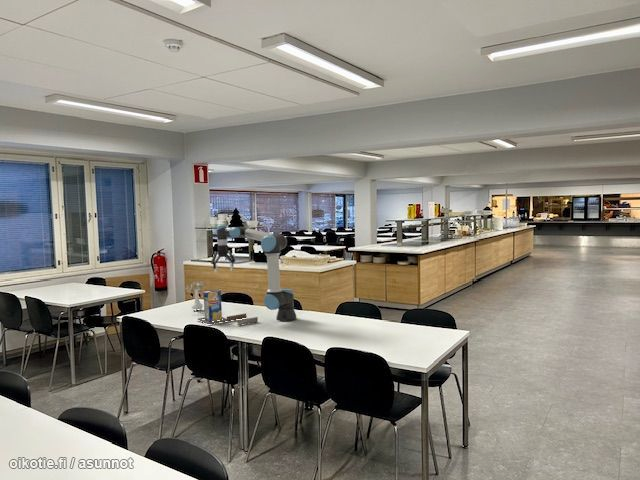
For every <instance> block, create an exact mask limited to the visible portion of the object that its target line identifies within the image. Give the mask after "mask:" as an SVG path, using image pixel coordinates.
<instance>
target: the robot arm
mask: <svg viewBox="0 0 640 480" xmlns="http://www.w3.org/2000/svg"><path fill="white" fill-rule="evenodd" d="M216 237H217V251H214V253H213V256H212V259H211V260H210V264H211V265H212V266H213V267H212V268H213V270H214V274H217V273H218V265H217V263H218V262H219V260H220V259H221V258H223V257H224V258H226V259H227V260H228V261H229V262H230V263H229V270H230V272H233V270H234V269H233V268H234V263H235V262H236V258H235V257H234V255H233V251H232V250H229V248H228V238H239V237H243V238H247V239H249V240H255V241H258V242H260V247H261V249H262V250H263V252H264V255H265V256H266V261H267V282H268V283H267V284H268V287H267V288H268V289H267V290H266V295H265V296H264V298H263V304H264V305H265V307H266V308H267V309H268V310H270V311H273V310H274V311H276V310H278V311H277V314H276V316H275V317H276V321H277V320H280V321H279V322H293V321H296V320H297V314H296V311H295V308H294V307H295V305H294V298H295V297H294V291H293V289H291V288H289V289H288V288H281V274H280V273H281V272H280V257H279V256H280V255H281V251H282V250H283V249H285V248H286V247H287V245H288V239H287V237H285V235H283V234H280V233H279V234H278V233H269V232H265V231H261V230H258V229H253V228H249V227H248V226H236V227H235V226H234V227H227V225H226V224H221V225H220V224H218V225H217V226H216ZM292 320H293V321H292Z"/></svg>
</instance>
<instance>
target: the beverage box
mask: <svg viewBox="0 0 640 480" xmlns="http://www.w3.org/2000/svg"><path fill="white" fill-rule="evenodd" d="M203 309H204V310H203V311H204V313H203V314H204V317H205V321H208V322H212V321H217V320H222V317H223V311H222V310H223V309H222V290H215V289H214V290H209V291H203Z"/></svg>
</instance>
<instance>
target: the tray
mask: <svg viewBox="0 0 640 480" xmlns="http://www.w3.org/2000/svg"><path fill="white" fill-rule="evenodd" d="M202 319H205V316H204V317H200V318H197V321H198V320H200V321H202V322H204V323H207V324H214V323H219V322H225V321H228V320H227V317H224V316H222V319H223V320H220V321H214V322H208V321H205V320H202ZM204 323H203V324H204Z"/></svg>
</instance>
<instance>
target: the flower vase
mask: <svg viewBox="0 0 640 480" xmlns="http://www.w3.org/2000/svg"><path fill="white" fill-rule="evenodd" d="M205 288H206V285H205V284H204V283H203V281H202V280H200V282H199V281H192V283H190V287H189V286H188V285H186V287H184V290H186V293H187V294H191V290H193V291H194V302H193V303H192V304H191V309H192V310H193V309H196V310H197V309H201V310H202V309H204V304H203V303H202V302H201V301H200V296H199V291H201V290H202V291H203V292H205Z"/></svg>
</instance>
